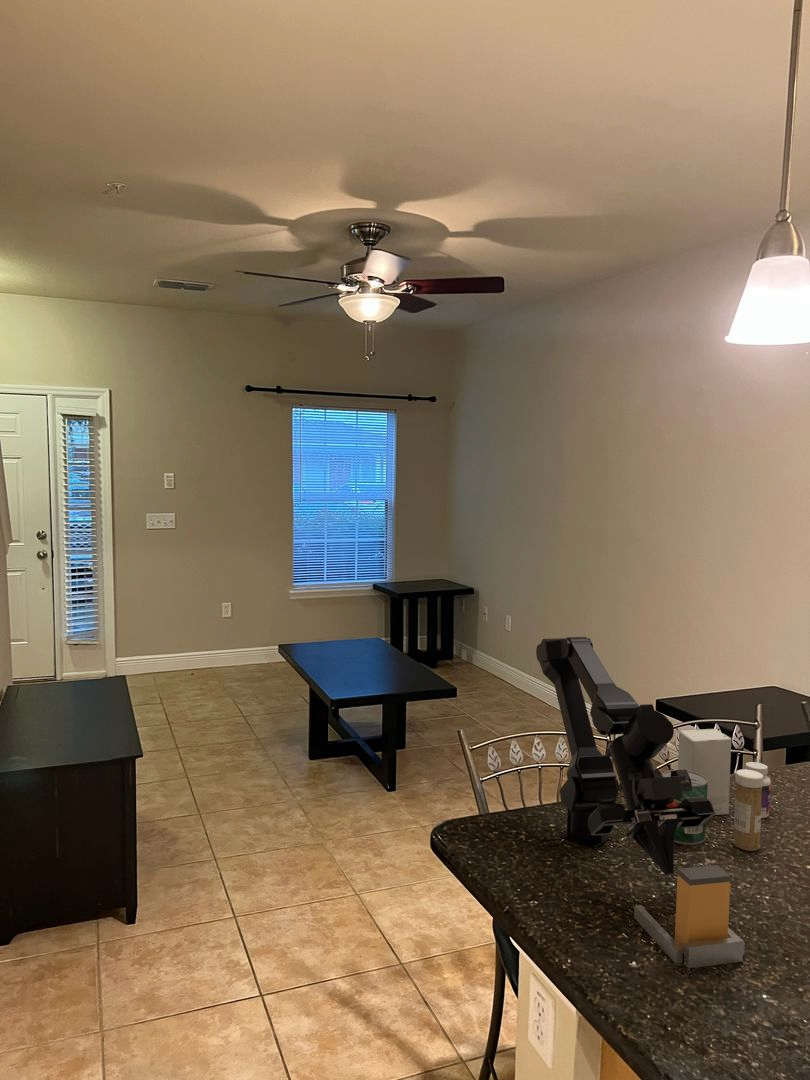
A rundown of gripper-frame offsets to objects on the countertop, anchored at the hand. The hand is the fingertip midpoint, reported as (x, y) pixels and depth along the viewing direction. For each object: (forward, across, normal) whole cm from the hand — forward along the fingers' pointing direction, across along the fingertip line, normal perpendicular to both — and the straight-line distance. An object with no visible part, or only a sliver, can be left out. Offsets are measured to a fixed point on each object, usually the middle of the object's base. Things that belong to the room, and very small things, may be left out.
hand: (670, 874), depth 112 cm
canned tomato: (-12, +18, +24) cm, 33 cm away
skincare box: (-19, +29, +31) cm, 46 cm away
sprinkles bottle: (-8, +27, +20) cm, 35 cm away
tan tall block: (+10, 0, -2) cm, 10 cm away
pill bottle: (-17, +38, +28) cm, 51 cm away
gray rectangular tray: (+8, 0, +3) cm, 8 cm away
